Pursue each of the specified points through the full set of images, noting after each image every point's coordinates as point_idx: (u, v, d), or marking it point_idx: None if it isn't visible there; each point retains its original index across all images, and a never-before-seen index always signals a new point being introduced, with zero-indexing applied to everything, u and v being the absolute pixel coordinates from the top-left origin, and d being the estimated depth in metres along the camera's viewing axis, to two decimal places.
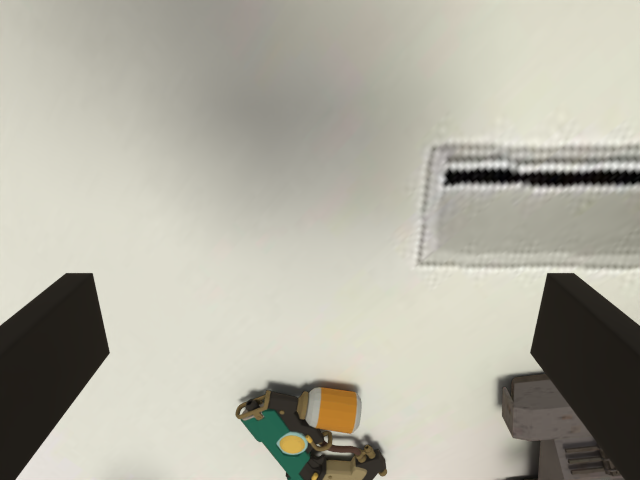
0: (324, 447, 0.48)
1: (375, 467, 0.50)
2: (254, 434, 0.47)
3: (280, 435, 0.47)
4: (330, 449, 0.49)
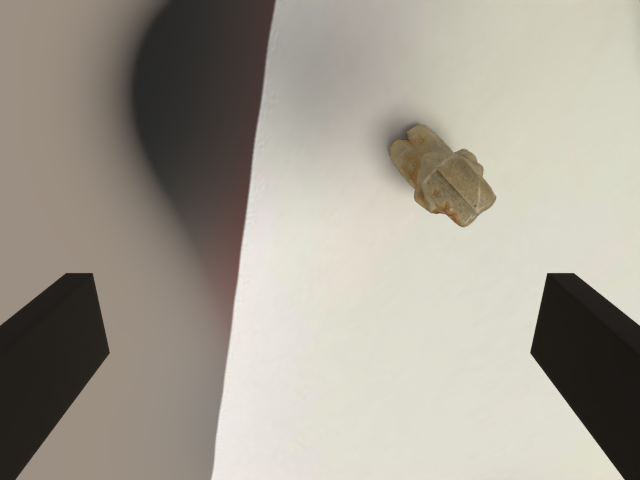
0: None
1: None
2: None
3: None
4: None
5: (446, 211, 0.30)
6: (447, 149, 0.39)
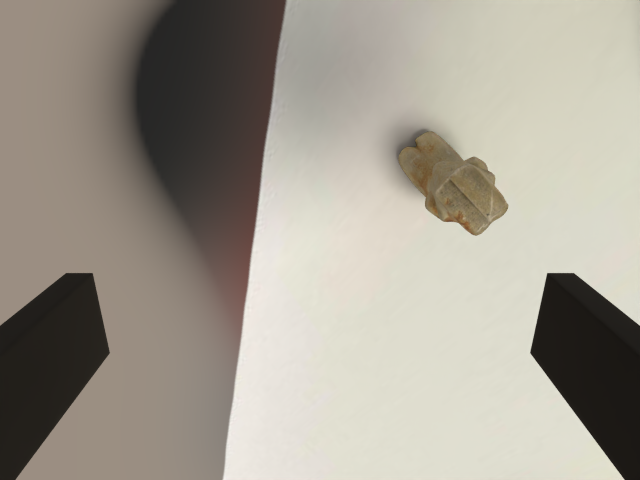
0: None
1: None
2: None
3: None
4: None
5: (459, 220, 0.30)
6: (456, 156, 0.39)
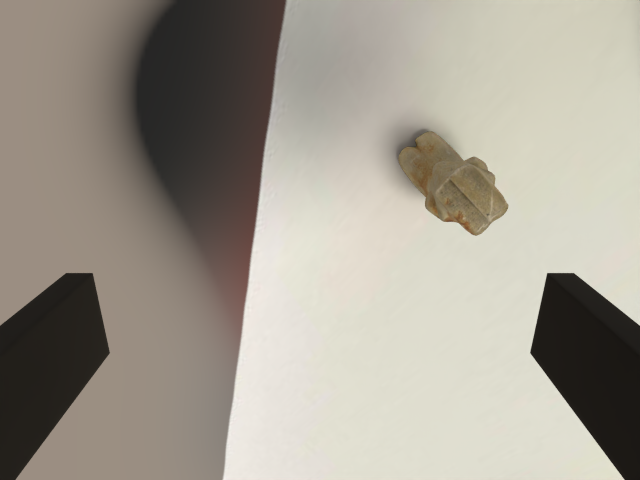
0: None
1: None
2: None
3: None
4: None
5: (459, 220, 0.30)
6: (456, 156, 0.39)
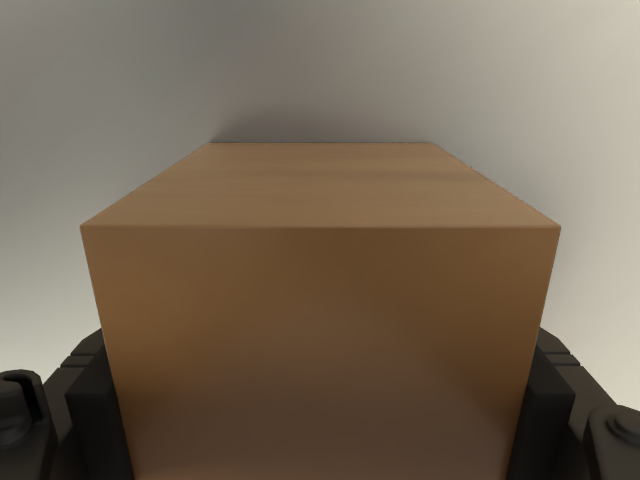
0: None
1: None
2: None
3: None
4: None
5: None
6: None
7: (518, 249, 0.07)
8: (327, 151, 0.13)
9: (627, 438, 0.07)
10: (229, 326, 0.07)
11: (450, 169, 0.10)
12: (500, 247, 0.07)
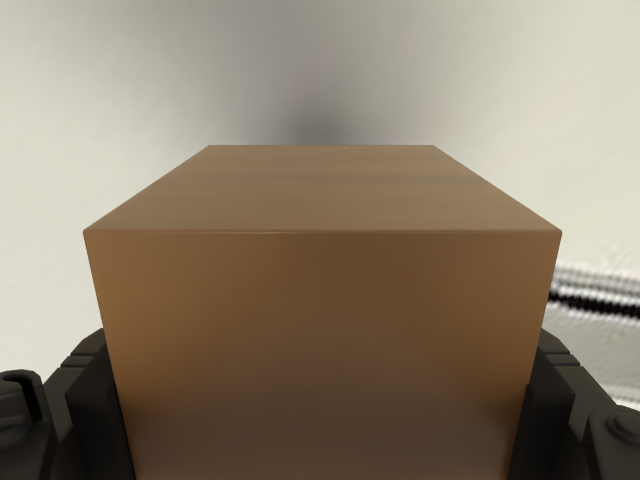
0: None
1: None
2: None
3: None
4: None
5: None
6: None
7: (519, 253, 0.07)
8: (328, 154, 0.13)
9: (628, 439, 0.07)
10: (231, 330, 0.07)
11: (451, 172, 0.11)
12: (502, 252, 0.07)
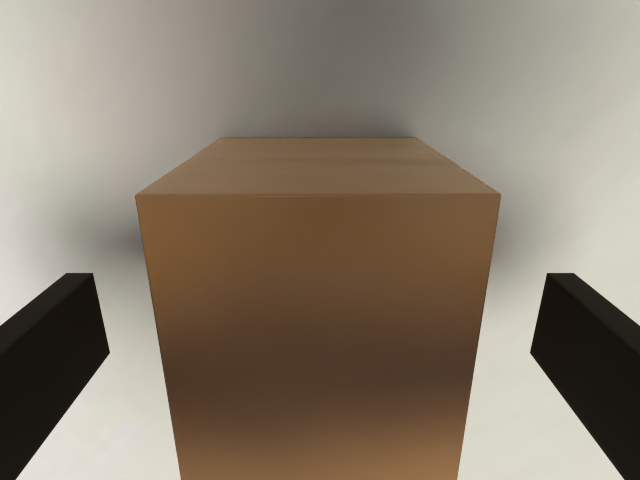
0: None
1: None
2: None
3: None
4: None
5: None
6: None
7: (469, 212, 0.09)
8: (324, 144, 0.15)
9: None
10: (247, 275, 0.10)
11: (426, 157, 0.13)
12: (455, 211, 0.09)
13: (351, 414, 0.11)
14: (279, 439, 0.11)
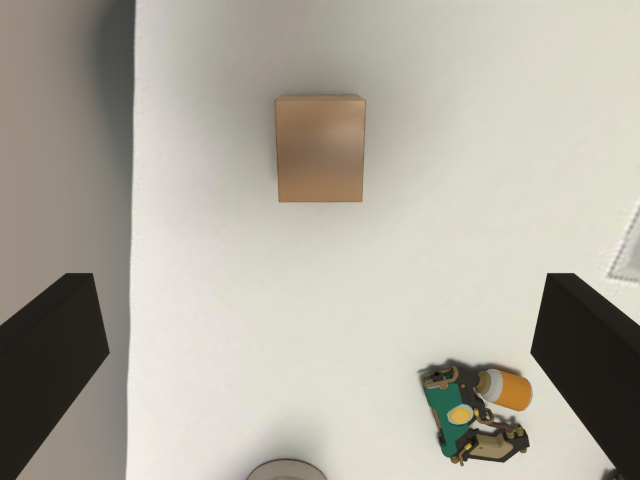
0: (488, 421, 0.55)
1: (521, 444, 0.57)
2: (432, 402, 0.55)
3: (455, 405, 0.55)
4: (488, 423, 0.57)
5: None
6: None
7: (358, 105, 0.36)
8: None
9: None
10: (301, 122, 0.37)
11: (354, 97, 0.40)
12: (354, 104, 0.36)
13: (329, 168, 0.38)
14: (308, 177, 0.38)
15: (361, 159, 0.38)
